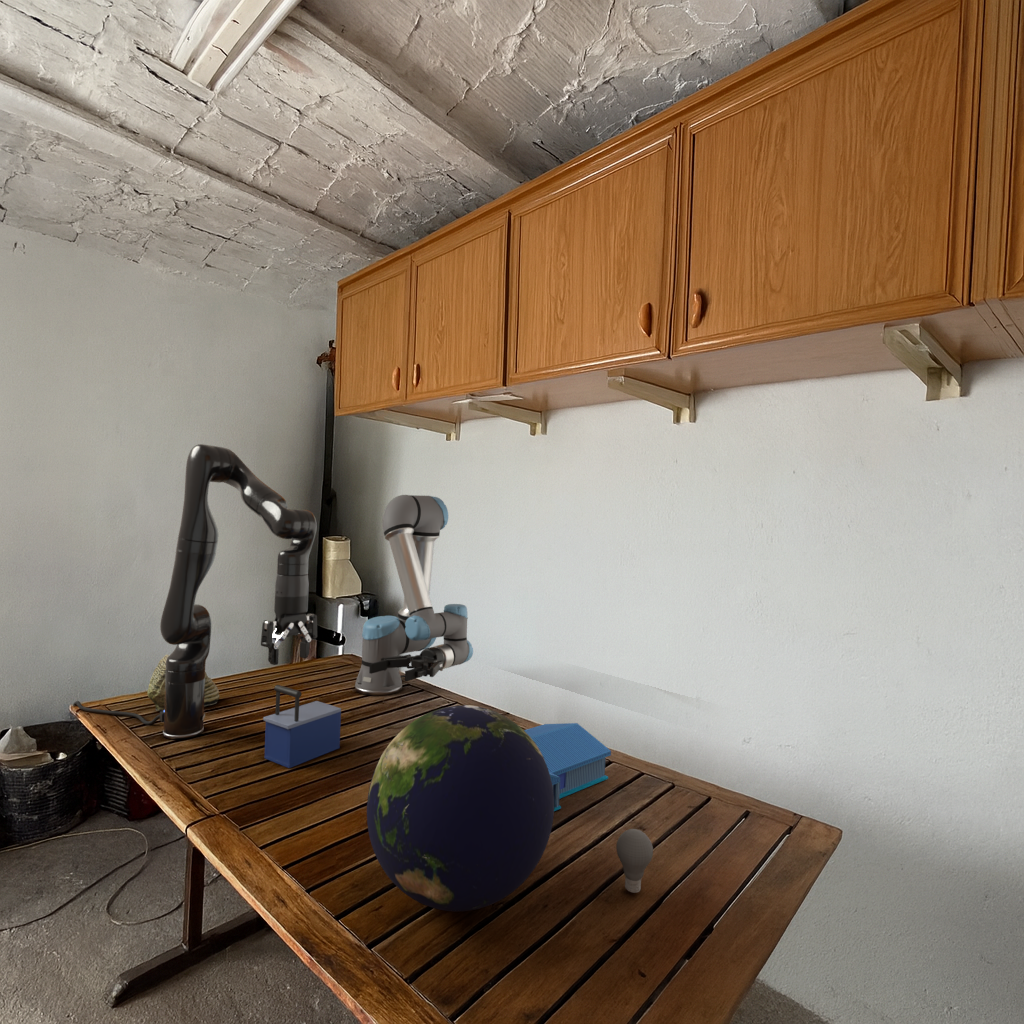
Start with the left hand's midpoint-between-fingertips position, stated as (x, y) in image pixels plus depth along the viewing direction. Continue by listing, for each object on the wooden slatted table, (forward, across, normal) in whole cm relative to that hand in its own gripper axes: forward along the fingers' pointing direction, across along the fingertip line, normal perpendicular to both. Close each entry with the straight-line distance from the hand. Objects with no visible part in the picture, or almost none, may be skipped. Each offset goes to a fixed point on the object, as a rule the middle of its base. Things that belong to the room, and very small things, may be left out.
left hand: (289, 660), depth 151 cm
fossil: (+24, +6, +54) cm, 59 cm away
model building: (+24, +22, -52) cm, 62 cm away
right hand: (+10, +33, -1) cm, 35 cm away
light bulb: (+24, +2, -87) cm, 90 cm away
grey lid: (+14, +5, 0) cm, 15 cm away
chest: (+24, +5, 0) cm, 24 cm away
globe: (+24, -17, -64) cm, 71 cm away
